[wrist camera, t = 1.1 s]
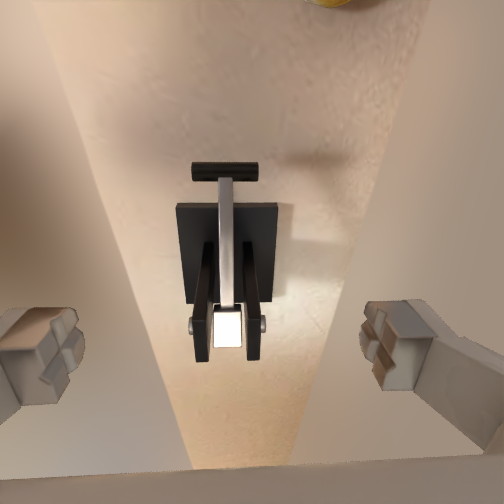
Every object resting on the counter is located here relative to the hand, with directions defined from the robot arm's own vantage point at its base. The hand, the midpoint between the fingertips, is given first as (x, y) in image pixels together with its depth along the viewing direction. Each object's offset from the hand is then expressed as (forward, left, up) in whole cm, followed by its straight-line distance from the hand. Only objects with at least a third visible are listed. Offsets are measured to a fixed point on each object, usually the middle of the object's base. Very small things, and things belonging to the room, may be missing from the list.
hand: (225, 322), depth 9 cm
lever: (+7, 0, -15) cm, 17 cm away
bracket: (+11, 0, -23) cm, 25 cm away
